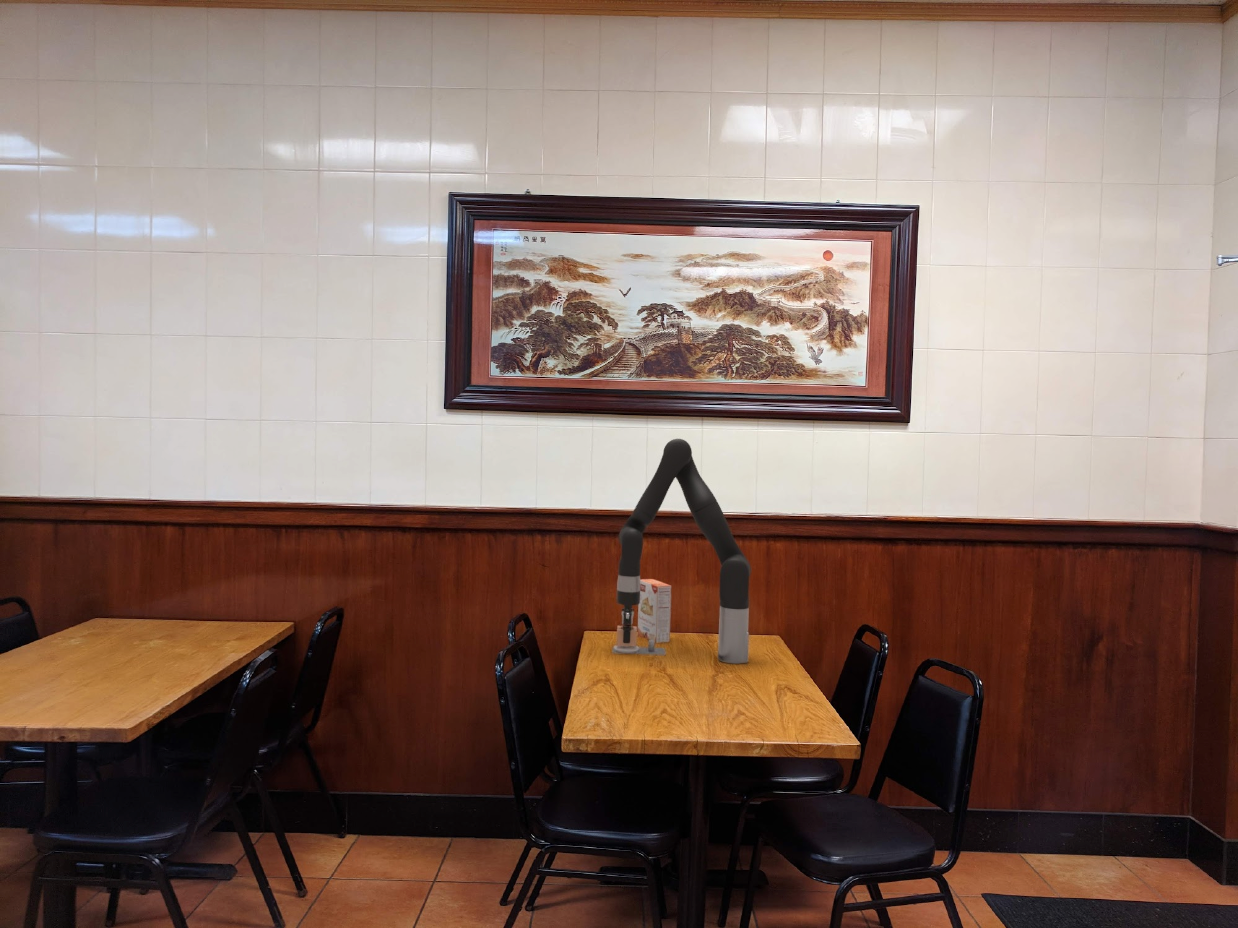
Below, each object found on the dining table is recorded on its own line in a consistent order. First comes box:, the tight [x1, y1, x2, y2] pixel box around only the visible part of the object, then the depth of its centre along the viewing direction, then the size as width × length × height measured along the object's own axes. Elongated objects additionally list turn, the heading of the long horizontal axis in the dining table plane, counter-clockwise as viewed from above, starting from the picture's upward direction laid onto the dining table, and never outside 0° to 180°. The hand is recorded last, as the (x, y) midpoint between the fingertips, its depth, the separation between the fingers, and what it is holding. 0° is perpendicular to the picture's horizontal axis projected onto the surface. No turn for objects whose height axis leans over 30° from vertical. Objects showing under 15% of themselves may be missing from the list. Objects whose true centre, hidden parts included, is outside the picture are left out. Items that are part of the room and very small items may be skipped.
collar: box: [616, 625, 638, 646], centre depth 264 cm, size 6×6×5 cm
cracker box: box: [637, 578, 672, 644], centre depth 282 cm, size 14×6×21 cm, turn 25°
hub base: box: [612, 639, 667, 656], centre depth 264 cm, size 17×9×6 cm, turn 89°
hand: (626, 640), depth 264 cm, fingers closed on collar, 6 cm apart
